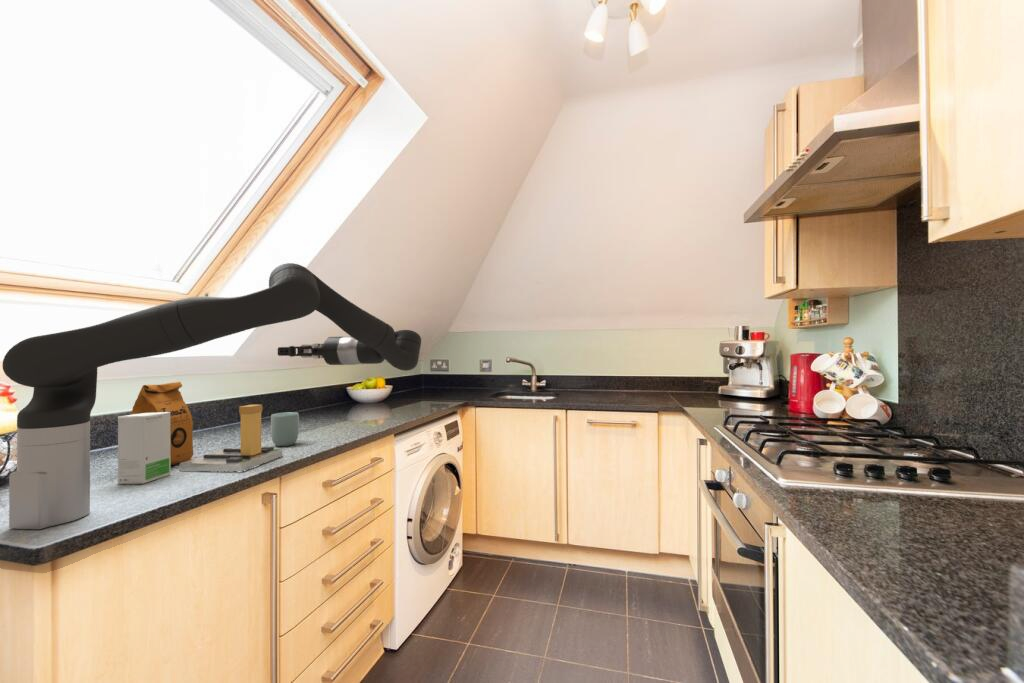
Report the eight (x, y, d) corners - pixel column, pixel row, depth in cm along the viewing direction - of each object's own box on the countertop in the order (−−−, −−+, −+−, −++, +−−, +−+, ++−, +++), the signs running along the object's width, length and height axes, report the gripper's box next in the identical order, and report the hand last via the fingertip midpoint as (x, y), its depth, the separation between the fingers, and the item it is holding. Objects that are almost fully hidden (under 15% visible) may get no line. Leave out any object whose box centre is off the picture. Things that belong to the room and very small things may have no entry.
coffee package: (199, 460, 122) (199, 381, 122) (156, 472, 110) (156, 384, 110) (169, 458, 124) (169, 381, 124) (123, 471, 111) (123, 384, 112)
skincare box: (143, 484, 100) (143, 416, 100) (114, 484, 100) (114, 416, 100) (172, 474, 108) (172, 411, 108) (146, 474, 108) (146, 411, 108)
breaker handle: (251, 455, 116) (251, 406, 116) (239, 455, 116) (239, 406, 116) (262, 451, 120) (262, 404, 120) (251, 451, 121) (250, 404, 121)
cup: (279, 449, 134) (279, 416, 134) (266, 446, 138) (266, 414, 139) (303, 444, 141) (303, 413, 141) (290, 441, 145) (290, 411, 145)
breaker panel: (241, 472, 109) (241, 461, 109) (179, 471, 111) (179, 460, 111) (282, 456, 125) (282, 446, 125) (227, 455, 126) (227, 445, 127)
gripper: (358, 337, 123) (303, 338, 125) (332, 335, 109) (271, 336, 110) (358, 363, 123) (304, 364, 124) (332, 365, 109) (271, 366, 110)
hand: (288, 351), depth 117 cm, fingers open, 8 cm apart
